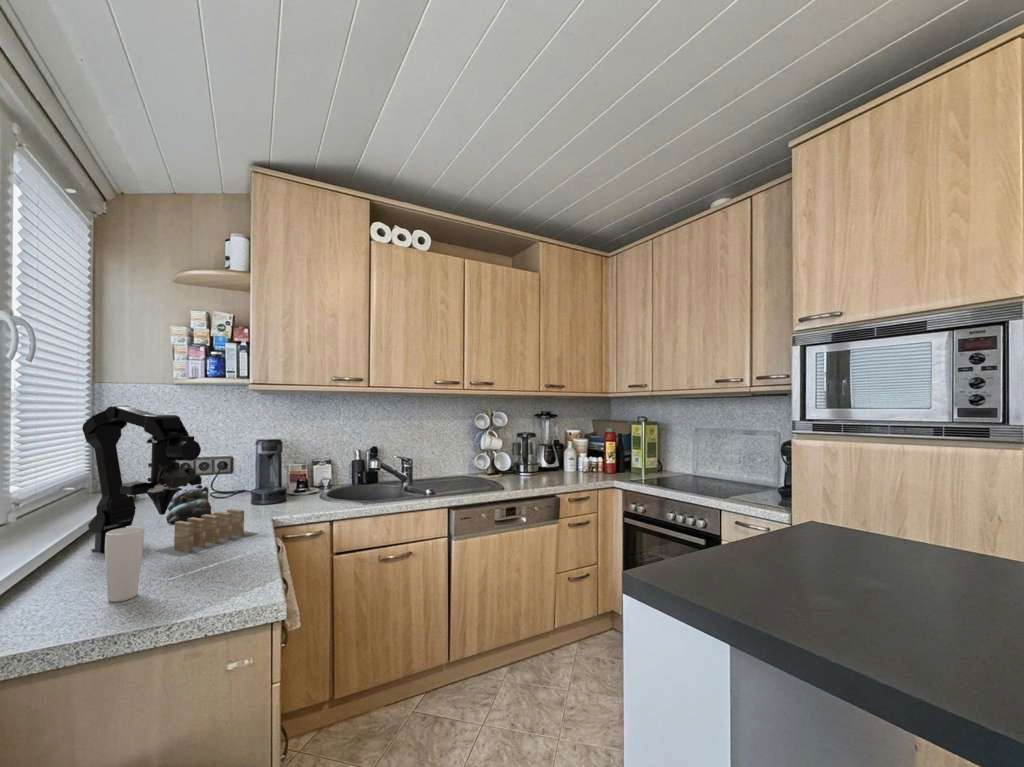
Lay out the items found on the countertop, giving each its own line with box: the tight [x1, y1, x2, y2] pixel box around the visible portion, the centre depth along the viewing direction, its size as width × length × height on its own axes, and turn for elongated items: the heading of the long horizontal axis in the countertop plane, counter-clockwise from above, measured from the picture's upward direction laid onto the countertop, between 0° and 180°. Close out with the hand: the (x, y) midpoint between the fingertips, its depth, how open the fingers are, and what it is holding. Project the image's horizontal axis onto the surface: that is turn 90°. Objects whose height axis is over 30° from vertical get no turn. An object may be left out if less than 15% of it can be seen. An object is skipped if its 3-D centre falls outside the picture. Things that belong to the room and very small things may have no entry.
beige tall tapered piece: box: [104, 526, 145, 603], centre depth 106 cm, size 7×7×15 cm
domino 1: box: [173, 520, 193, 552], centre depth 138 cm, size 2×6×8 cm, turn 66°
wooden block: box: [214, 510, 232, 540], centre depth 150 cm, size 2×6×8 cm, turn 66°
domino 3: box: [200, 514, 219, 544], centre depth 146 cm, size 2×6×8 cm, turn 66°
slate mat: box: [154, 530, 260, 558], centre depth 146 cm, size 25×12×1 cm, turn 156°
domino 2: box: [187, 517, 206, 548], centre depth 142 cm, size 2×6×8 cm, turn 66°
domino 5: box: [226, 508, 245, 536], centre depth 154 cm, size 2×6×8 cm, turn 66°
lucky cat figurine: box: [165, 484, 213, 524], centre depth 175 cm, size 15×12×14 cm
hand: (162, 514), depth 134 cm, fingers closed
